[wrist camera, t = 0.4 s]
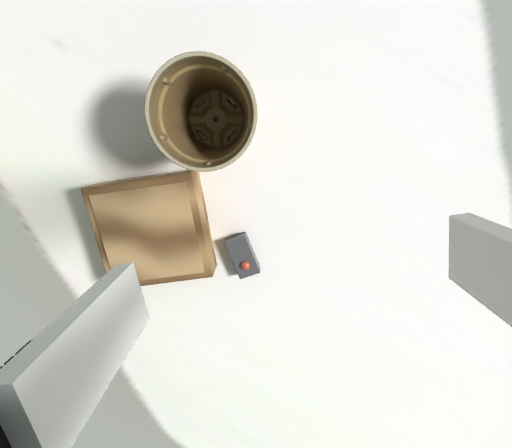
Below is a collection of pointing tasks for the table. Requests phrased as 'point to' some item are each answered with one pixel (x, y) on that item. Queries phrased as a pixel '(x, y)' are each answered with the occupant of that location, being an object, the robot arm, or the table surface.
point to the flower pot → (200, 111)
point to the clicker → (242, 255)
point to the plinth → (153, 226)
